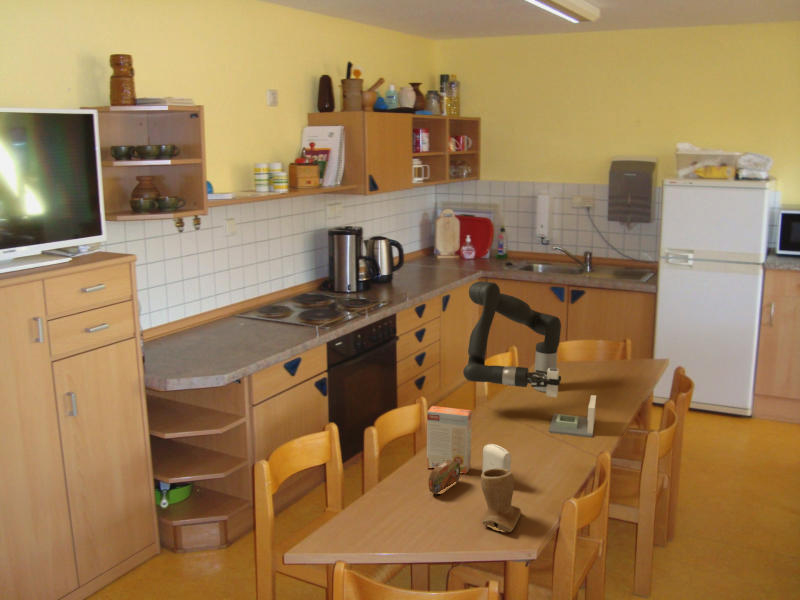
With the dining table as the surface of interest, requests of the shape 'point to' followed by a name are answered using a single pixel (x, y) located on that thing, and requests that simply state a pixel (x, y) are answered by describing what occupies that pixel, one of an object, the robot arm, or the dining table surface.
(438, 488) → the tin
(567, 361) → the dining table surface
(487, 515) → the stone cup
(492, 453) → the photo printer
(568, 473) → the dining table surface
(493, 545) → the dining table surface
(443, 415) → the cracker box
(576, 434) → the wall outlet
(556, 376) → the block
